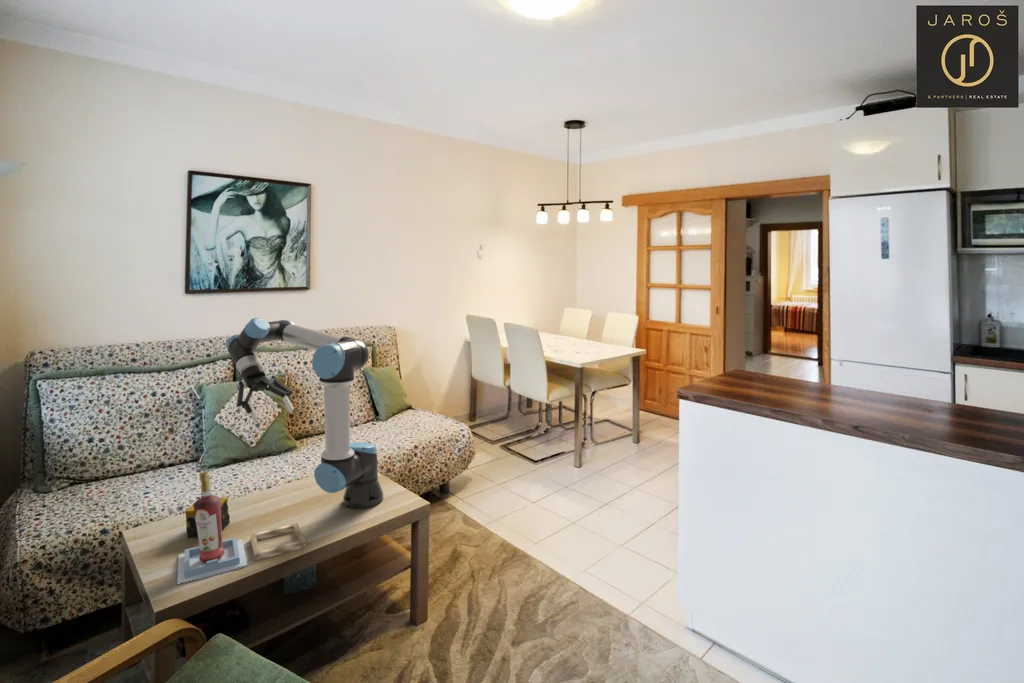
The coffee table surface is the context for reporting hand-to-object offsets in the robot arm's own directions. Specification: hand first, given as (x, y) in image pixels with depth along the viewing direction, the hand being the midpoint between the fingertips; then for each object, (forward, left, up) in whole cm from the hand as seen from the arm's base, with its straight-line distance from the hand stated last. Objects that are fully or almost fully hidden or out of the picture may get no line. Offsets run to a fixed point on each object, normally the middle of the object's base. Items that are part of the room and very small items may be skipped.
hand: (274, 415), depth 189 cm
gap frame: (-8, +23, -38) cm, 45 cm away
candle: (+20, +13, -38) cm, 45 cm away
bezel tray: (+8, +33, -38) cm, 50 cm away
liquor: (+8, +32, -37) cm, 50 cm away
